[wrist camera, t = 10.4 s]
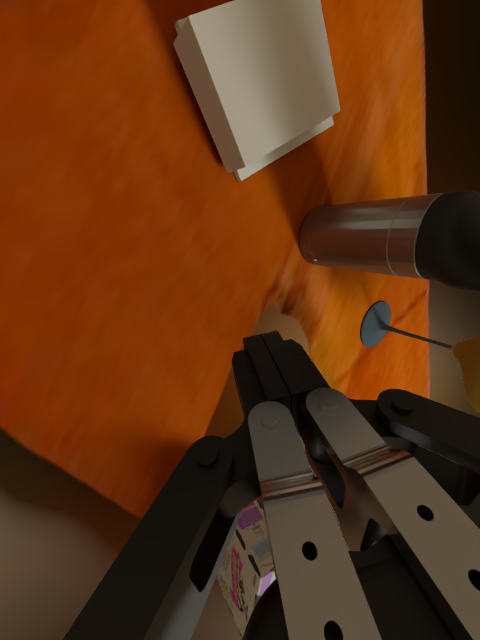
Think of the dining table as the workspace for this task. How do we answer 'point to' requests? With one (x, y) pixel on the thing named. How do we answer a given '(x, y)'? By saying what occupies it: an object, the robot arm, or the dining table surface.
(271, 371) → the robot arm
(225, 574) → the candy box
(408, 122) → the dining table surface
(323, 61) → the tile
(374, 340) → the cocktail glass
